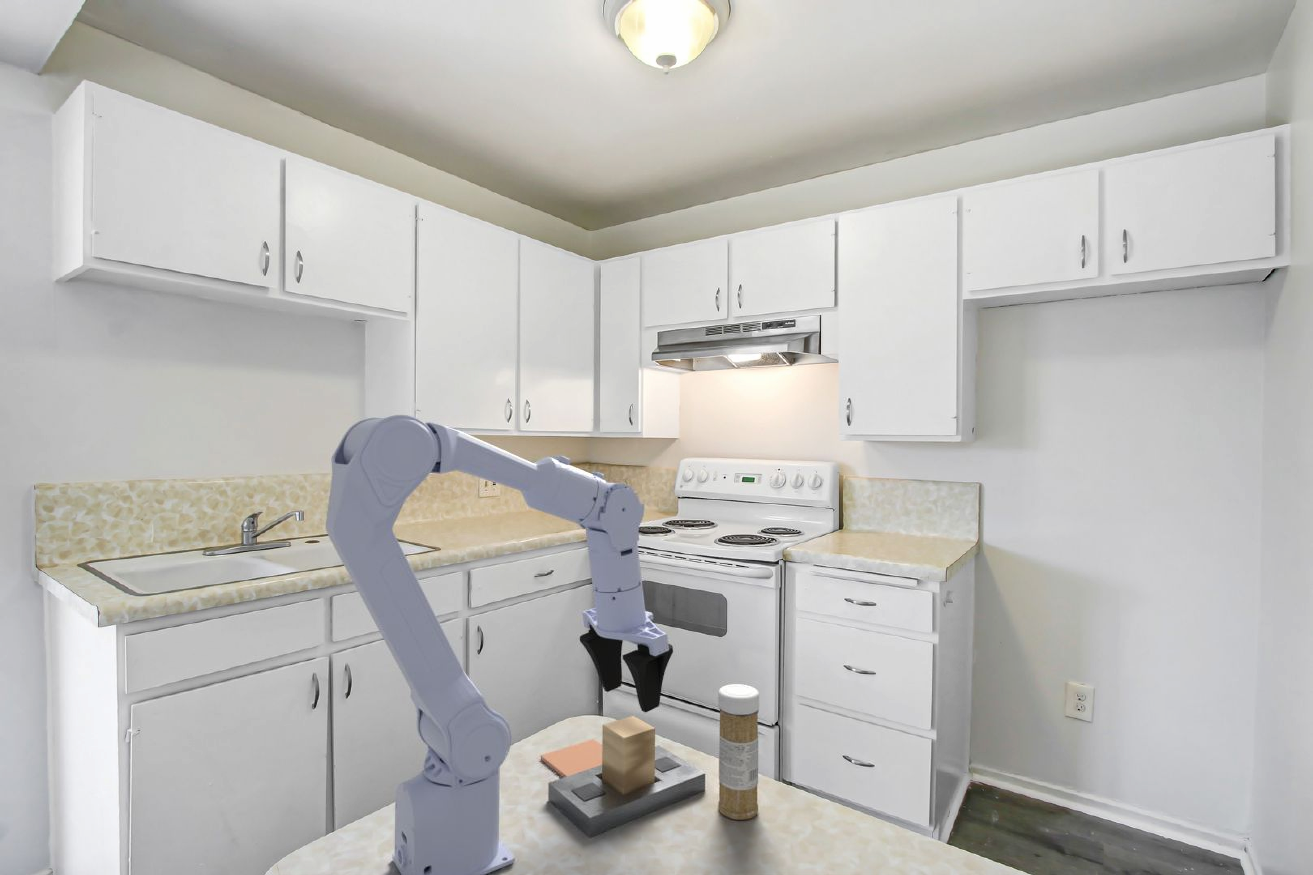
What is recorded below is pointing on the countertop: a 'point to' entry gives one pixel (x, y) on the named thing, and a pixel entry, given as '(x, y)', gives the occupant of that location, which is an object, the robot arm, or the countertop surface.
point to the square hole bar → (606, 808)
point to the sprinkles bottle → (738, 751)
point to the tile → (575, 758)
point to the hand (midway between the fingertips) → (631, 697)
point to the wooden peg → (628, 754)
